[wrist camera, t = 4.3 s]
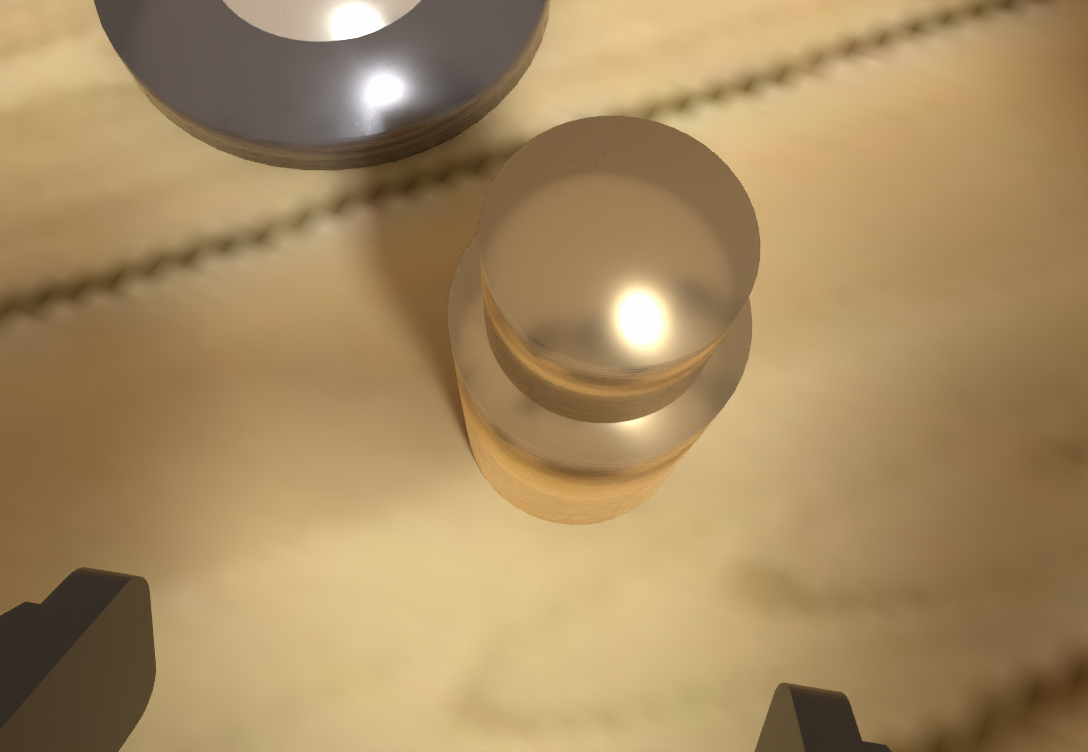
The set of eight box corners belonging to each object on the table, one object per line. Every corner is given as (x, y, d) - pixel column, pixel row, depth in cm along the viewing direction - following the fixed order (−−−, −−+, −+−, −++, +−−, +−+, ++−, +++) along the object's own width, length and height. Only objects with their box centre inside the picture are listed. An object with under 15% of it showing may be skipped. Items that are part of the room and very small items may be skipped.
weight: (667, 543, 21) (790, 445, 12) (446, 502, 21) (393, 374, 12) (692, 337, 23) (816, 112, 14) (489, 302, 23) (474, 54, 14)
